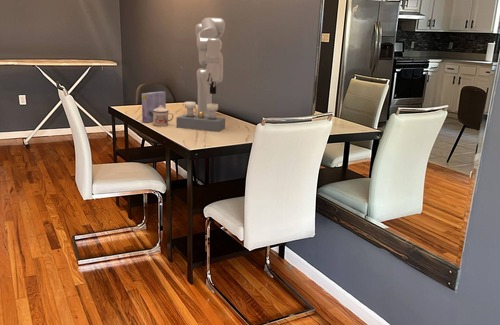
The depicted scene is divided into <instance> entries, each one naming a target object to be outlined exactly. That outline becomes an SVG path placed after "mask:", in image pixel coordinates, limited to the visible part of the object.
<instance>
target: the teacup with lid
mask: <svg viewBox="0 0 500 325" xmlns="http://www.w3.org/2000/svg"><path fill="white" fill-rule="evenodd" d="M169 115H171V119H169ZM153 119H154V122H153V125H154V127H167V126H168V125H169V122H172V121H173V119H174V114H173V113H172V112H169V109H167V108H166V109H165V108H164V107H162V106H161V105H160V106H159V107H158V108H156V109H154V110H153Z"/></svg>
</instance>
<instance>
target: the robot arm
mask: <svg viewBox="0 0 500 325" xmlns="http://www.w3.org/2000/svg"><path fill="white" fill-rule="evenodd" d="M225 29H226V24H225V20H224V19H223V18H222V17H205V18H203V19H202V20H201V22H200V23H197V24H196V25H195V30H194V32H195V35H196V46H197V50H198V62H199V65H201V66H205V67H200V68H198V69H197V71H196V80H197V81H196V82H197V112H195V113H194V115H198V112H199V111H203V112H204V116H208V117H209V110H207V104H213V102H212V101H213V98H212V97H213V95H215V94H217V84H218V83H221V82H223V80H224V57H223V53H222V52H221V50H222V48H223V42H222V40H221V39H220V38H221V37H222V36H223V34H224V32H225Z"/></svg>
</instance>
